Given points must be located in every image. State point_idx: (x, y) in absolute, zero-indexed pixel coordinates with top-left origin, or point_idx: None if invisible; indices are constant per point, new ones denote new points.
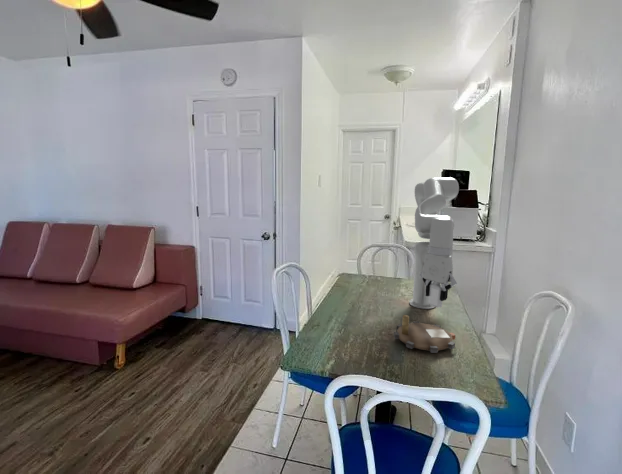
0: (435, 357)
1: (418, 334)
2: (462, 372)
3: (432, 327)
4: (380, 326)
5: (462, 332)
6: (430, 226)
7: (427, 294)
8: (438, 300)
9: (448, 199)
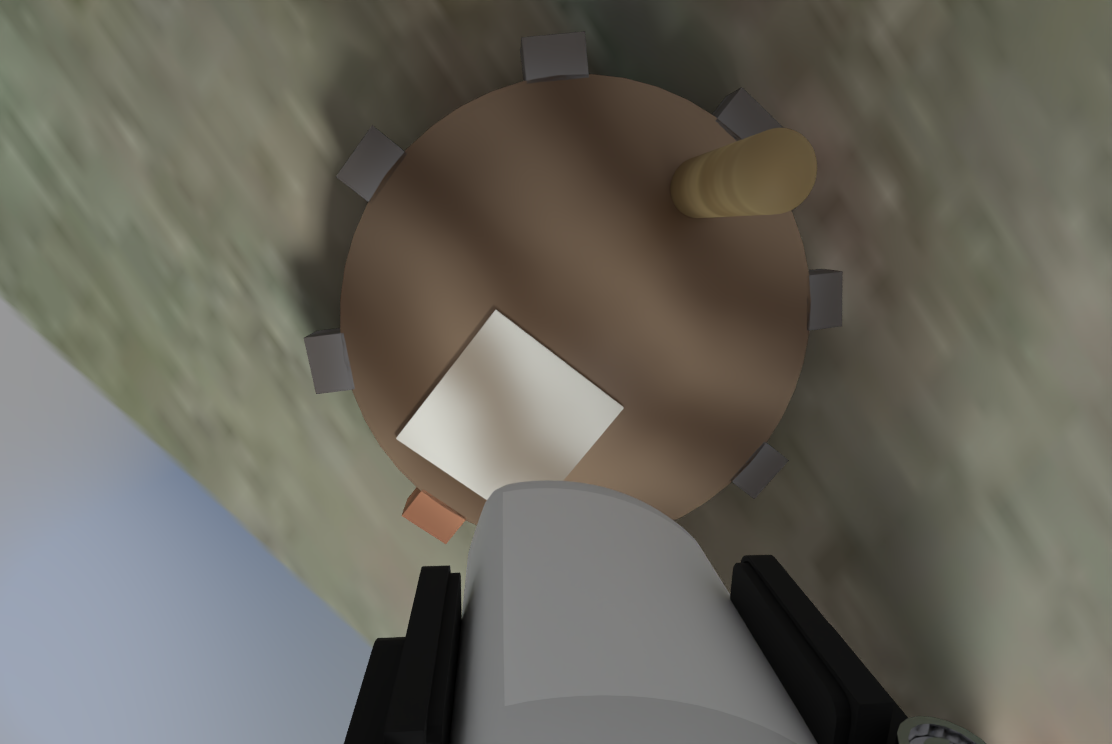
0: None
1: (607, 274)
2: (94, 127)
3: None
4: (962, 265)
5: None
6: None
7: (753, 577)
8: (487, 548)
9: None
